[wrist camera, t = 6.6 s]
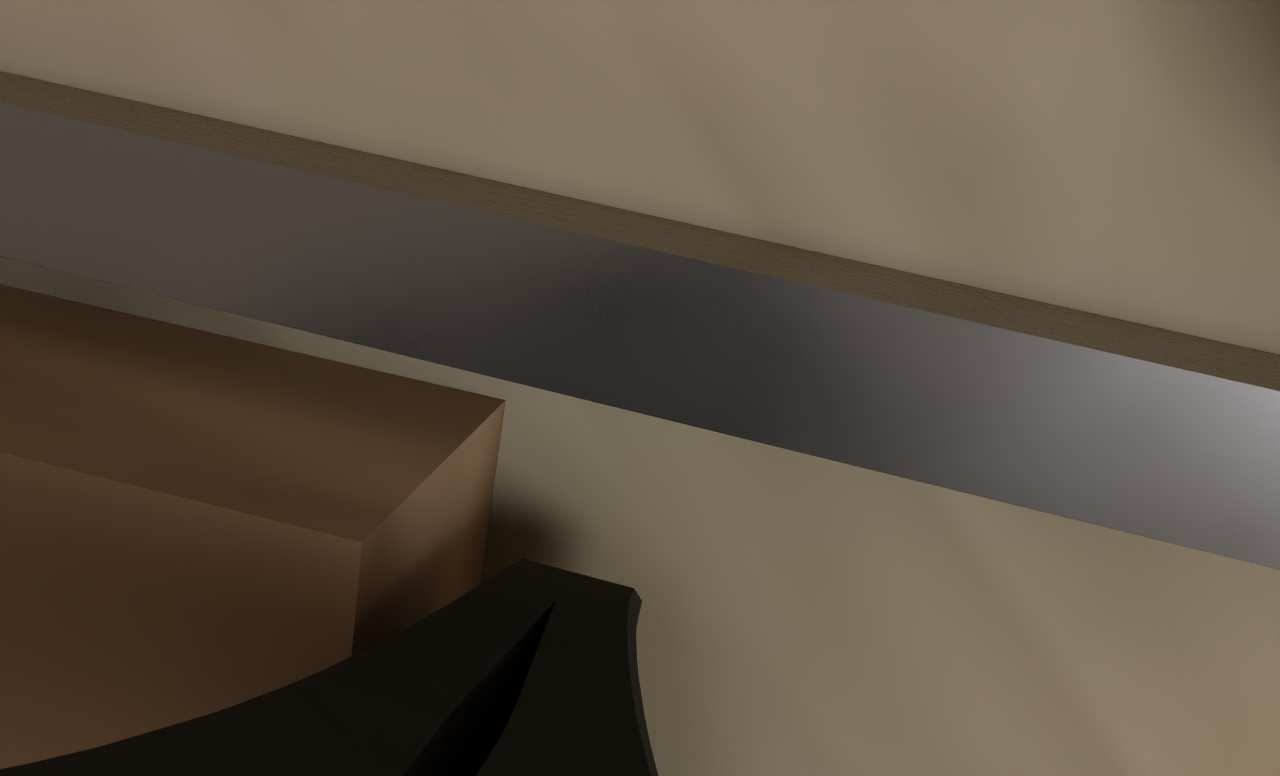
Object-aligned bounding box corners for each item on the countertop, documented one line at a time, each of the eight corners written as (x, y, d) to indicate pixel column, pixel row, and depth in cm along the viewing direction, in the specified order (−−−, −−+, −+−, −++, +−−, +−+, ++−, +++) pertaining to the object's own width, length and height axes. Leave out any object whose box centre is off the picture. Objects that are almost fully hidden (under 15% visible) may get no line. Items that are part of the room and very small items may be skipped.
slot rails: (1443, 1157, 12) (1545, 1335, 10) (-275, 637, 15) (-420, 709, 13) (1884, 489, 9) (2127, 582, 7) (-358, -8, 12) (-558, -23, 10)
